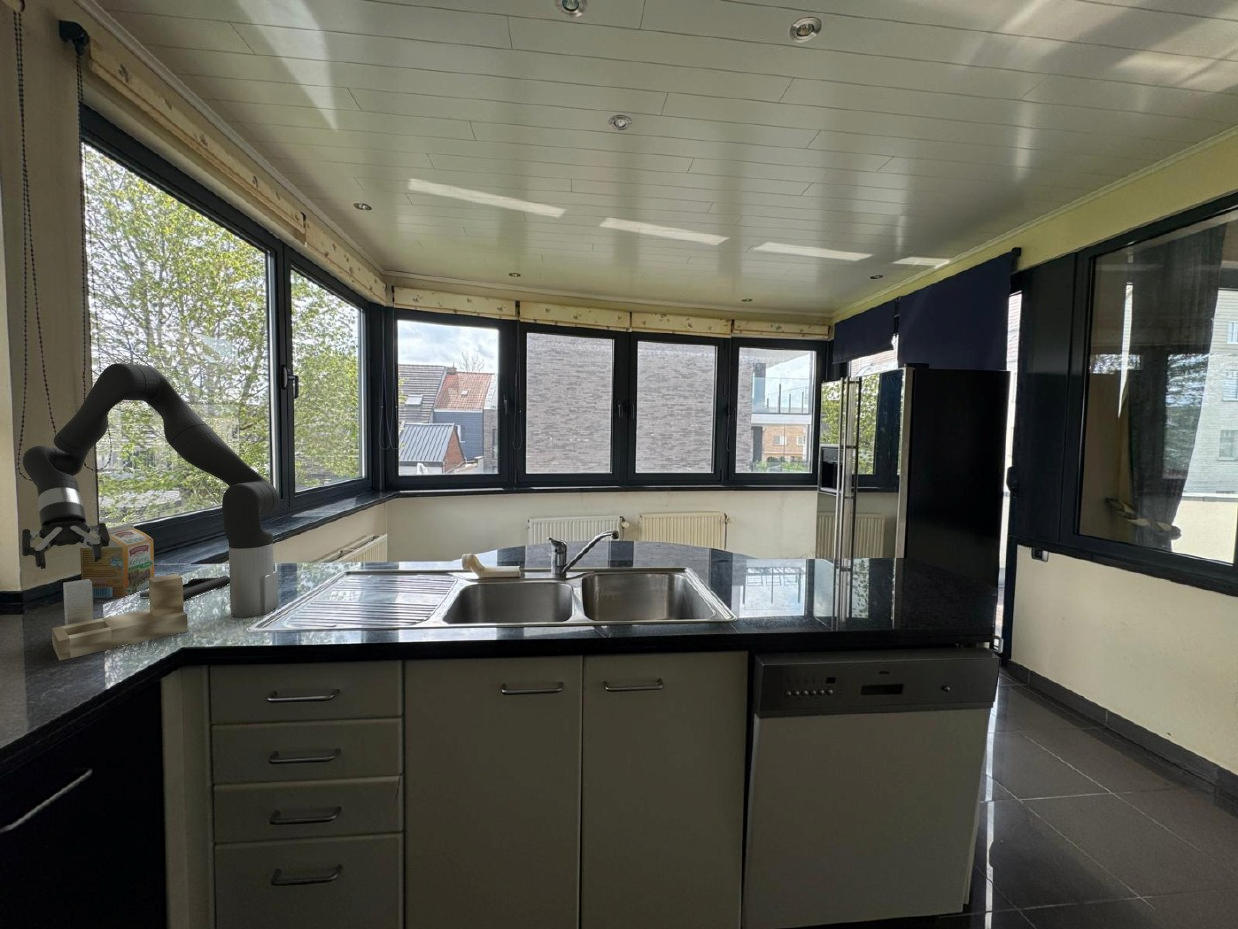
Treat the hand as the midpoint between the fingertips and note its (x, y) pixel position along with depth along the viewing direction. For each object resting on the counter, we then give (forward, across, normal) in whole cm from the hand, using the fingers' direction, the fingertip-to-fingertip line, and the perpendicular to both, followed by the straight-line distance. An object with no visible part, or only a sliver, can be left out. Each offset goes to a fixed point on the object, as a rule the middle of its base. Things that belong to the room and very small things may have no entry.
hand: (70, 563), depth 120 cm
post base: (+25, +6, -4) cm, 26 cm away
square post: (+18, 0, +3) cm, 18 cm away
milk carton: (-8, +12, +29) cm, 32 cm away
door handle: (+3, +22, +18) cm, 29 cm away
